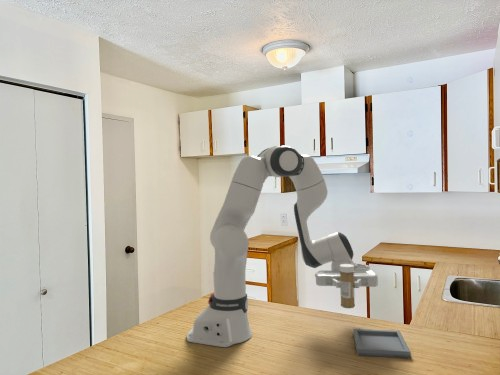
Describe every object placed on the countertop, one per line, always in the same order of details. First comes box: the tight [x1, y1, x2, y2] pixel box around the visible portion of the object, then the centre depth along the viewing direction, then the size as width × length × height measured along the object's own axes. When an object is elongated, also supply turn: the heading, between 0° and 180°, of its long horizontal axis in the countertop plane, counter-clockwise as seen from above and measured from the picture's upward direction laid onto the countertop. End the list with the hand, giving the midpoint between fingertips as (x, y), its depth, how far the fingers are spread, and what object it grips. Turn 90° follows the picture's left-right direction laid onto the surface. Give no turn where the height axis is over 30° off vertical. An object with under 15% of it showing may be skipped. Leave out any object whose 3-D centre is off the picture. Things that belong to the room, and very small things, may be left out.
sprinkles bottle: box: [339, 264, 356, 309], centre depth 119 cm, size 5×5×14 cm
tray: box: [352, 328, 412, 359], centre depth 117 cm, size 15×15×2 cm
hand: (347, 285), depth 118 cm, fingers closed on sprinkles bottle, 4 cm apart
